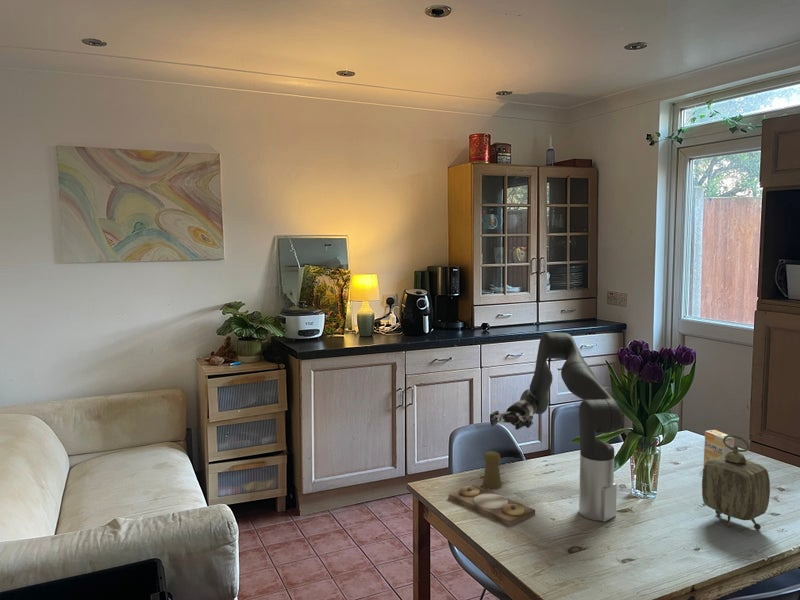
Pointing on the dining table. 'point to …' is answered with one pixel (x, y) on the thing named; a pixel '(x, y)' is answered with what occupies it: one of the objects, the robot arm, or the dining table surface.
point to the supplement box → (716, 444)
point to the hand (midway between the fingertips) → (504, 424)
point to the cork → (492, 470)
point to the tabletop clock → (736, 485)
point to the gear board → (492, 505)
